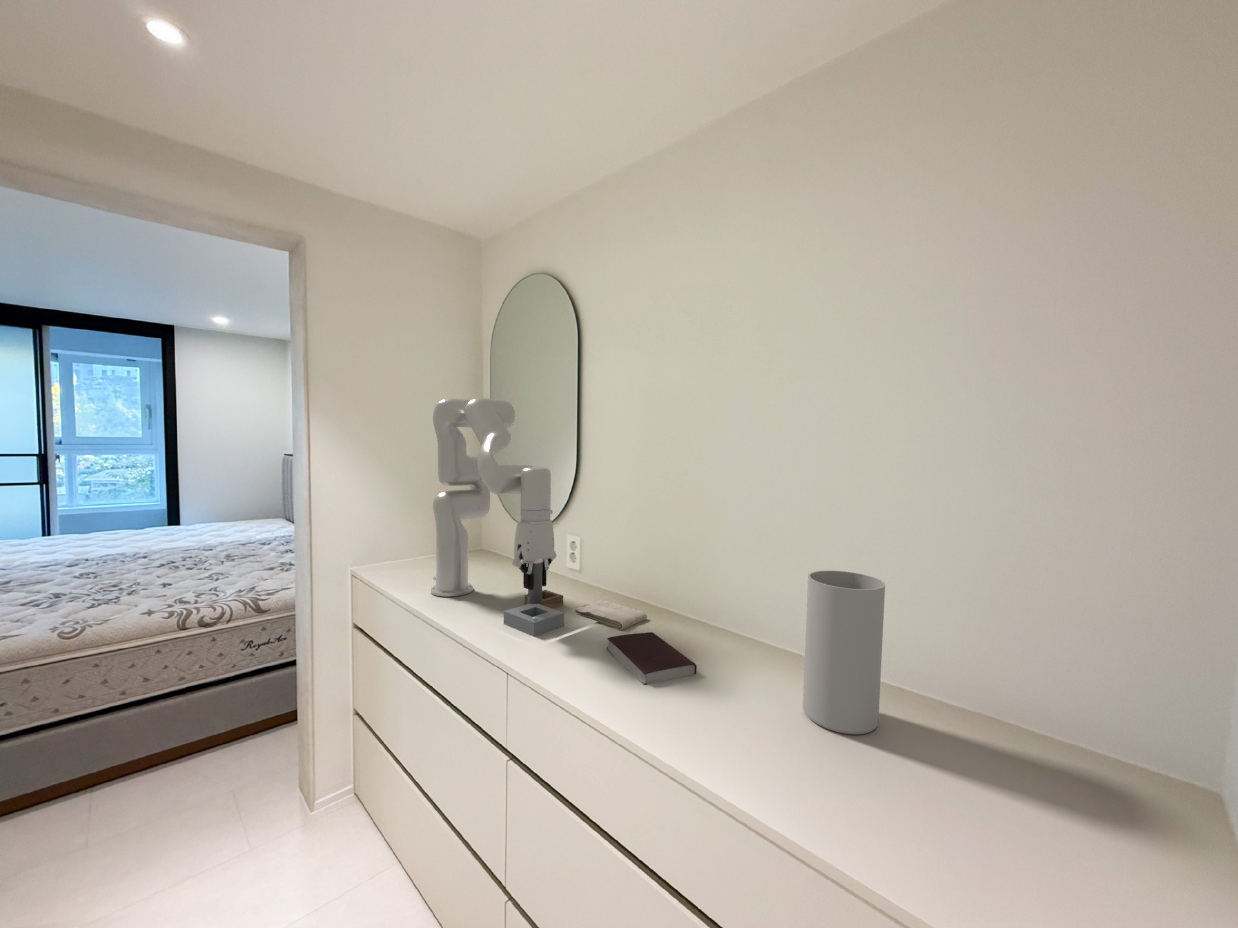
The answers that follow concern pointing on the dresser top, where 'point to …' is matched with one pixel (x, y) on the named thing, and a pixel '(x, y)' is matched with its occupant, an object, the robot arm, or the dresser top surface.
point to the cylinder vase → (843, 651)
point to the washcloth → (611, 614)
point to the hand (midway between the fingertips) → (535, 586)
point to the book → (650, 657)
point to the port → (533, 619)
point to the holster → (549, 599)
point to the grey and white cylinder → (536, 583)
